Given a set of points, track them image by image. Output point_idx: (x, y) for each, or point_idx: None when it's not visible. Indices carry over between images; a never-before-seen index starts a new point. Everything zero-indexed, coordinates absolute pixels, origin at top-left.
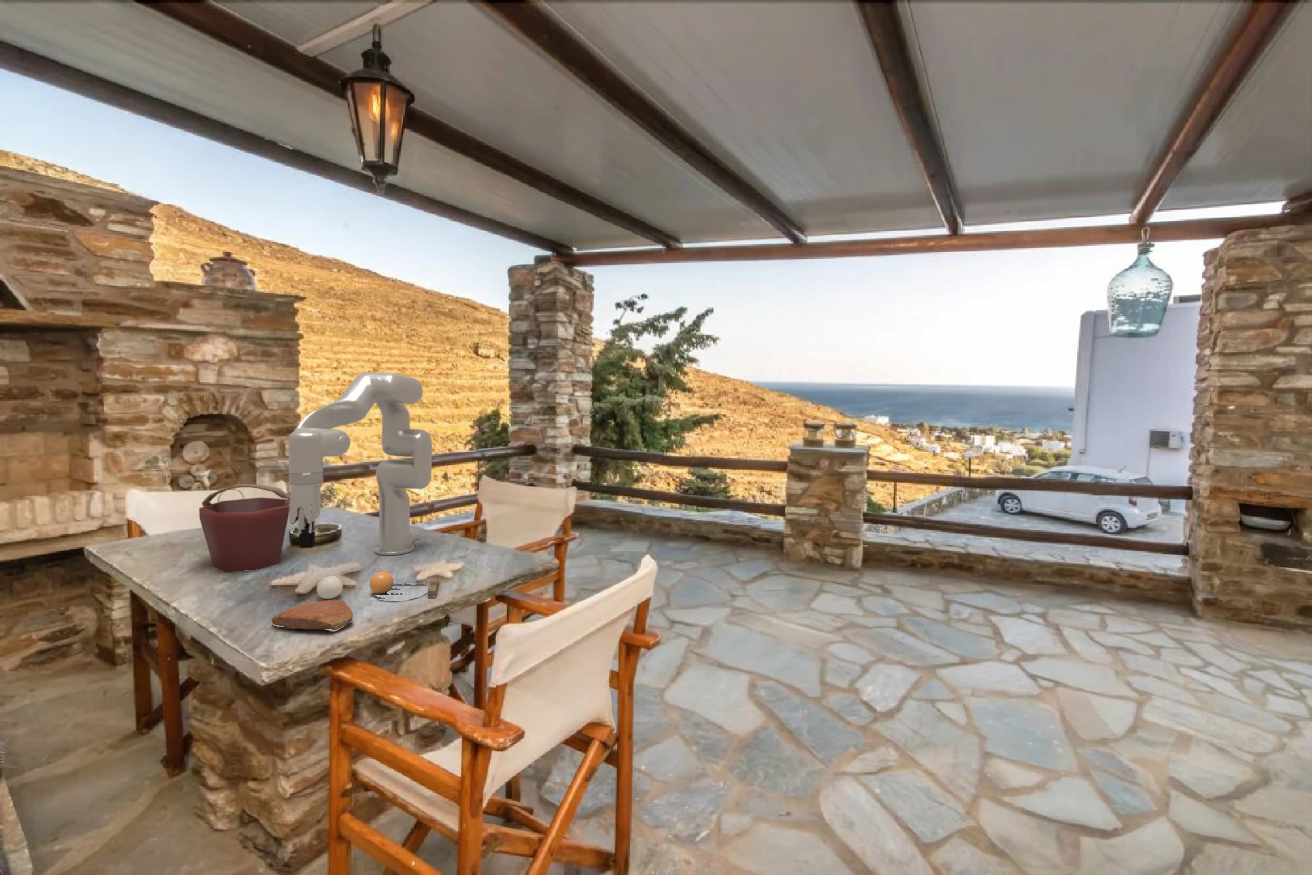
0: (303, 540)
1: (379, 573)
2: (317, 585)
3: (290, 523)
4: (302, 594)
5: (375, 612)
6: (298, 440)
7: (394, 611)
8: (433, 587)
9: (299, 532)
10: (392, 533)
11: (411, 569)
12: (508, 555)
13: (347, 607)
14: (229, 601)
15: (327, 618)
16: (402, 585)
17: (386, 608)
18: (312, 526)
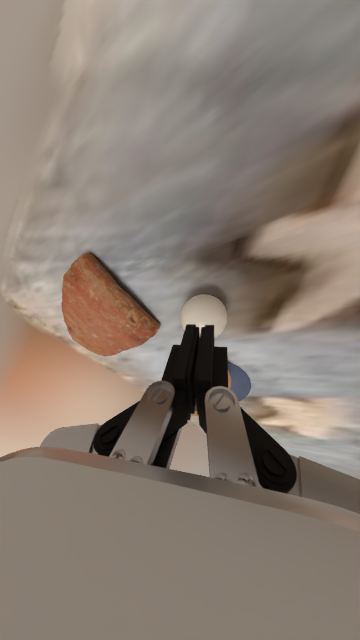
0: (169, 363)
1: None
2: (195, 303)
3: (5, 455)
4: (241, 248)
5: (146, 362)
6: None
7: (149, 377)
8: (196, 414)
9: (147, 390)
10: None
11: (325, 394)
12: None
13: (114, 352)
14: (233, 4)
15: (76, 338)
16: (238, 385)
17: (158, 371)
18: (208, 449)
